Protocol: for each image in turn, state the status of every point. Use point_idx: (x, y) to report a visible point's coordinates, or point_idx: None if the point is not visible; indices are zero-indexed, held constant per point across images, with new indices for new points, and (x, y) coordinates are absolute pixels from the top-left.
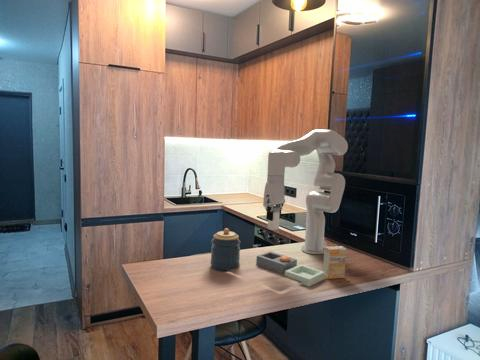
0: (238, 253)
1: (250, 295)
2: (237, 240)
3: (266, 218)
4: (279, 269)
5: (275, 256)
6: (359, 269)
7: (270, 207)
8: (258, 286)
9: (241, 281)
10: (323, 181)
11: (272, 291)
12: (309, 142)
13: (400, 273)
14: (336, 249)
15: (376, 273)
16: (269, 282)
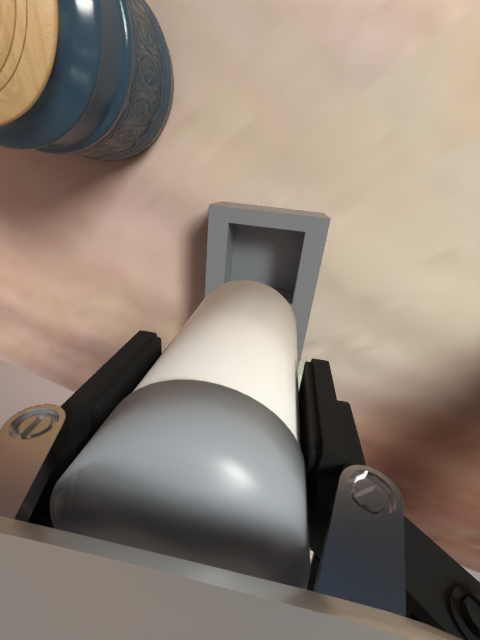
0: (88, 149)
1: (29, 327)
2: (28, 119)
3: (136, 334)
4: None
5: (298, 266)
6: (446, 493)
7: (53, 514)
8: (86, 314)
9: (66, 250)
10: None
11: (96, 359)
12: None
13: (475, 569)
14: (311, 559)
15: (435, 528)
16: (135, 325)
